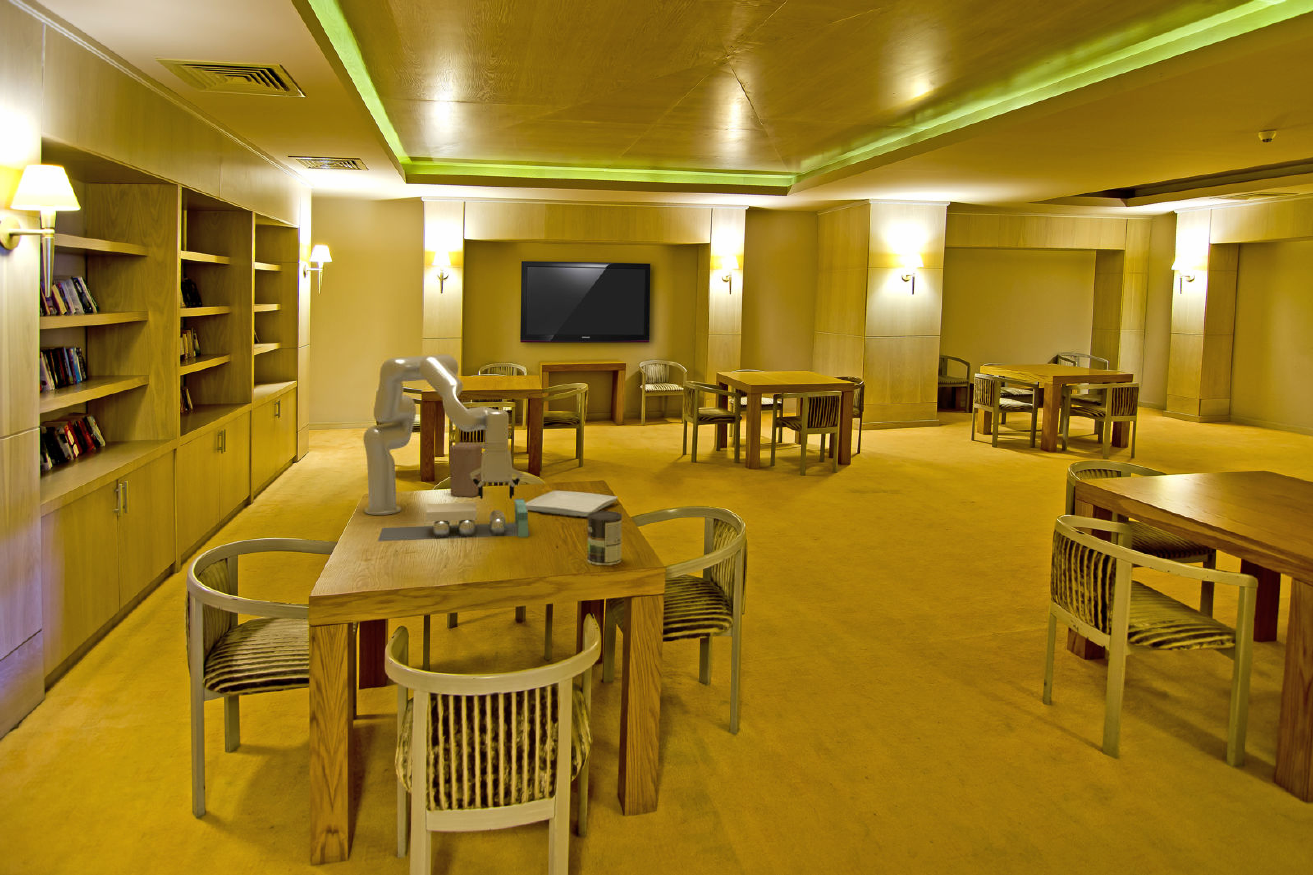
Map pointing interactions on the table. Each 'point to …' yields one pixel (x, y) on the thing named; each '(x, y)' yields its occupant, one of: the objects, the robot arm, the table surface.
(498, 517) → the loose roller
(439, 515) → the slab
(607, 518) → the coffee can
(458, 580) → the table surface
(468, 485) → the wooden block
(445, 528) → the roller
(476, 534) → the runway
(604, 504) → the square plate
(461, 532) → the roller
